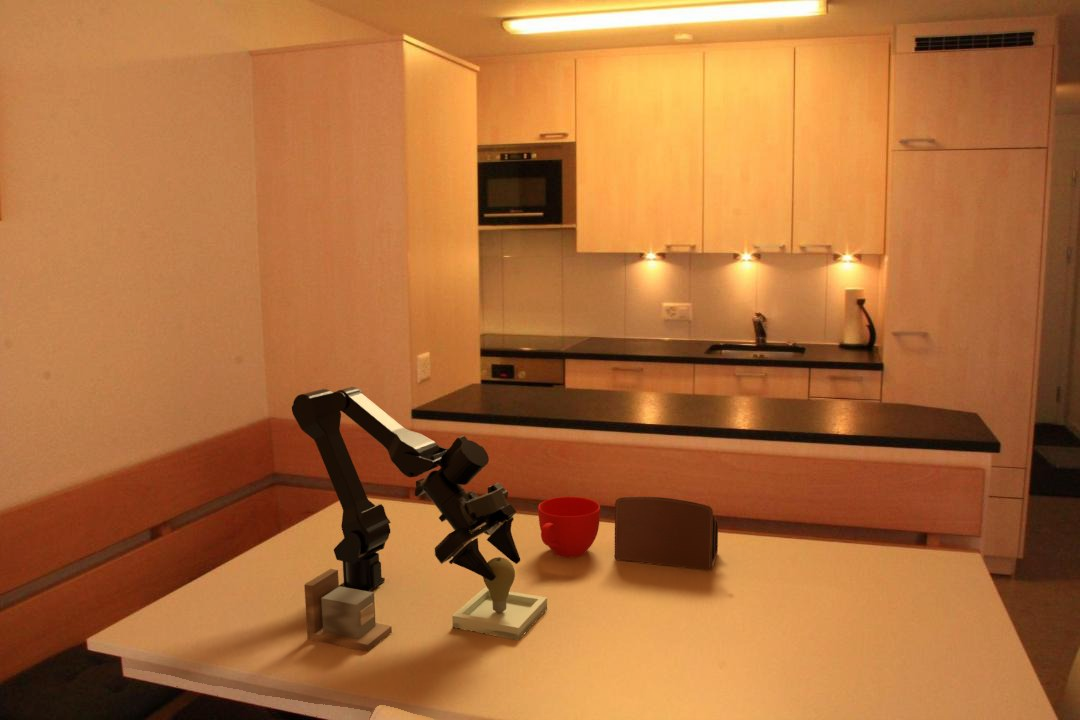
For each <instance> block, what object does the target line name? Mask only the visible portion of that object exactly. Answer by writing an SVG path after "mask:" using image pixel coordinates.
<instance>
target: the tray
mask: <svg viewBox="0 0 1080 720" xmlns="http://www.w3.org/2000/svg"><path fill="white" fill-rule="evenodd" d="M492 602H493V601H492V598H491V596H490V592H489V590H488V588H487V586H486V587H483V588H482V589H481V590H480V591H478V593H477V594H475V595H474V596H473V597H472V598H471V599H469V601H467V602H465V604H464V605H463V606H462V607H460V608H459V609H458V610H457V611H456V612H454V613H453V614H452V616H451V617H452V623H451V624H452V628H453V627H455V628H454V629H457V628H461V629H460V630H462V629H465V630H464V631H467V630H472V631H476V632H475V633H478V632H480V633H479V634H483V633H485V634H484V635H488V634H489V636H493V635H495V636H494V637H499V636H500V638H504V637H506V639H509V638H510V639H511V640H515V641H520V640H521V638H522V637H523V636H525V634H526V633H527V632H528V631H529V630H530V629H531V627H532V626H533V625H534V624H535V623H536V622H537V621H538V620H539V619H540V618H541V617H542V616H543V614H544V613H545V612H546V611H547V610H548V597H547V596H540V595H534V594H527V593H522V592H516V591H510V590H509V594H508V598H507V599H506V610H504V611H503V612H502V613H497V612H496V611H494V610H493V603H492ZM546 609H547V610H546ZM545 610H546V611H545ZM544 611H545V612H544ZM543 612H544V613H543ZM542 613H543V614H542ZM540 616H541V617H540ZM539 617H540V618H539ZM538 618H539V619H538ZM537 619H538V620H537ZM536 620H537V621H536ZM535 621H536V622H535ZM534 622H535V623H534ZM533 623H534V624H533ZM532 624H533V625H532ZM530 626H531V627H530ZM529 628H530V629H529ZM528 629H529V630H528ZM527 630H528V631H527ZM472 631H471V632H472ZM526 631H527V632H526ZM525 632H526V633H525ZM524 633H525V634H524ZM519 639H520V640H519Z"/></svg>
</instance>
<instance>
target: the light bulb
mask: <svg viewBox="0 0 1080 720" xmlns="http://www.w3.org/2000/svg"><path fill="white" fill-rule="evenodd" d="M487 563H488V564H489V566H490V567H491V569H492V570H493V572H494V574H495V576H496V578H495V579H494V580H493V581H490V580H488V579H486V578H484V577H482V580H483V582H484V585H485V586H486V587H487V588H488V590H489V592H490V596H491V598H492V601H493V602H492V603H493V610H494V611H496V612H497V613H502V612H503V611H504V610H506V599H507V598H508V594H509V591H510V590H511V587H512V585H513V583H514V581H515V577H516V571H515V567H514V565H513V563H512V562H510V560H509V559H508V558H507V559H506V558H504V557H500V556H496V557H493V558H491V559H490V560H488V561H487Z"/></svg>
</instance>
